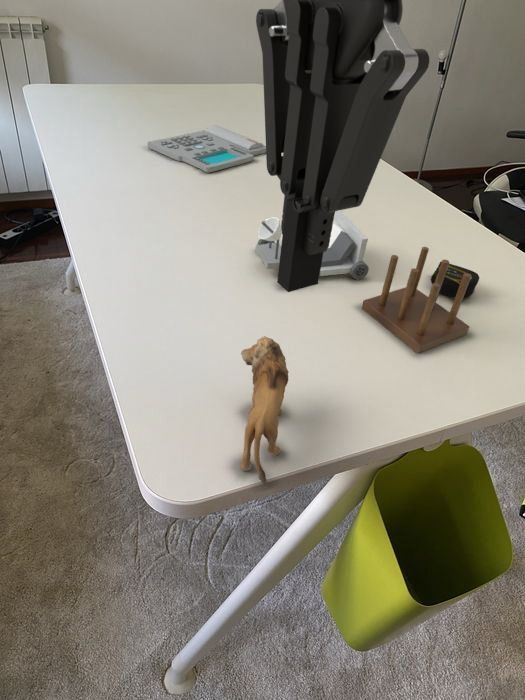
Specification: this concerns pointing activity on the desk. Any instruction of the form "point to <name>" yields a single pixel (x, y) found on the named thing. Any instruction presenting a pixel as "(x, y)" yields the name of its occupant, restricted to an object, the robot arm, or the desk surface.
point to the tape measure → (455, 281)
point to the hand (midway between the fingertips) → (297, 282)
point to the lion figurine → (264, 399)
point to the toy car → (336, 259)
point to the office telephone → (209, 148)
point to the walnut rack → (418, 309)
